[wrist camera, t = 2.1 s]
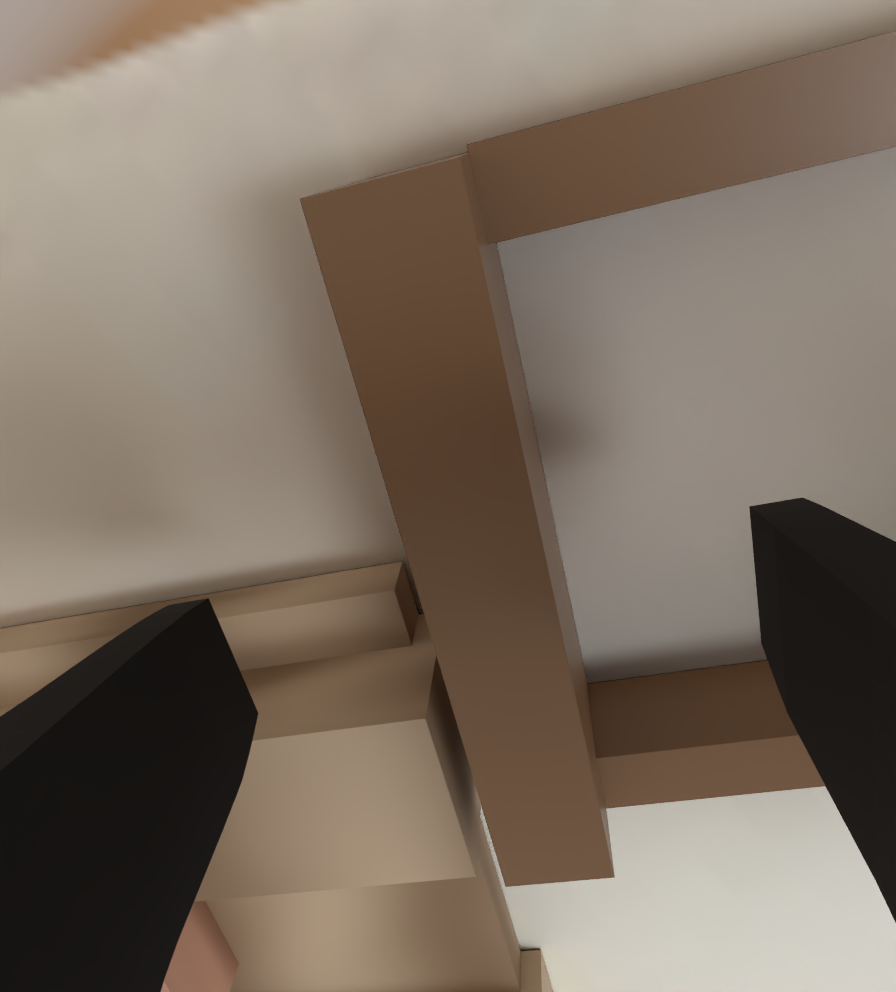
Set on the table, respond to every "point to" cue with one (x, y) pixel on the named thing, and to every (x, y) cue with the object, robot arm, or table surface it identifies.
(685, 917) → the table surface
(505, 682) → the wooden c-shaped piece
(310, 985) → the wooden u-shaped block
